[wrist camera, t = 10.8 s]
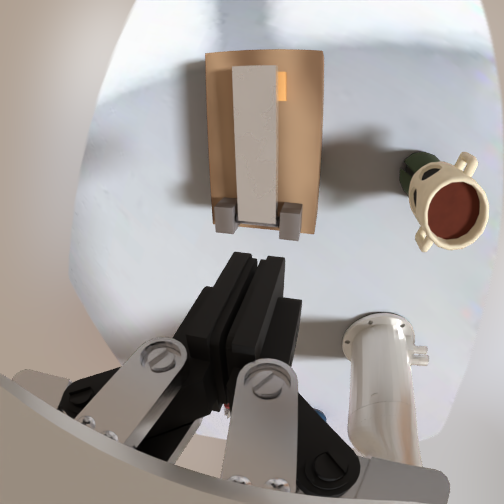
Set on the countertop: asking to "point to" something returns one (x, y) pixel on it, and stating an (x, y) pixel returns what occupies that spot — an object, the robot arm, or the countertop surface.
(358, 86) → the countertop surface
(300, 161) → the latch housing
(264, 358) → the robot arm
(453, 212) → the character mug
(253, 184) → the latch lever
